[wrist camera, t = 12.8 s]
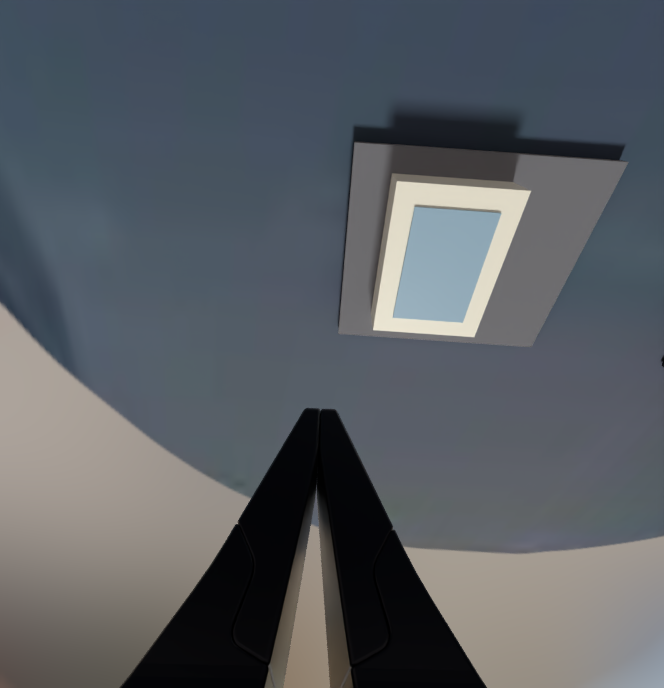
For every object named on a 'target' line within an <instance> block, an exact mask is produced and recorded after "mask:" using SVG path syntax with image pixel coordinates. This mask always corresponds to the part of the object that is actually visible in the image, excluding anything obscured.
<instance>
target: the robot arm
mask: <svg viewBox="0 0 664 688" xmlns="http://www.w3.org/2000/svg"><path fill="white" fill-rule="evenodd" d="M662 366H663V367H664V362H663V363H662ZM317 470H318V471H317ZM316 485H317V505H318V520H319V534H320V548H321V562H322V577H323V591H324V605H325V620H326V634H327V648H328V663H329V677H330V688H487V687H486V685H485V684H484V682H483V681H482V679H481V678H480V676H479V675H478V673H477V672H476V670H475V668H474V667H473V665H472V664H471V662H470V660H469V659H468V657H467V655H466V654H465V652H464V650H463V649H462V647H461V646H460V644H459V642H458V641H457V639H456V637H455V636H454V634H453V633H452V631H451V629H450V628H449V626H448V625H447V623H446V622H445V620H444V618H443V617H442V615H441V613H440V612H439V610H438V608H437V607H436V605H435V604H434V602H433V600H432V599H431V597H430V595H429V594H428V592H427V590H426V588H425V587H424V585H423V583H422V582H421V580H420V578H419V576H418V575H417V573H416V571H415V569H414V567H413V565H412V564H411V562H410V559H409V558H408V556H407V554H406V552H405V550H404V548H403V546H402V544H401V542H400V540H399V538H398V536H397V533H396V531H395V530H392V529H393V526H392V524H391V521H390V519H389V517H388V515H387V513H386V511H385V509H384V507H383V505H382V503H381V501H380V499H379V497H378V495H377V493H376V490H375V488H374V486H373V484H372V482H371V480H370V478H369V476H368V474H367V472H366V470H365V468H364V466H363V464H362V462H361V459H360V457H359V455H358V453H357V451H356V449H355V447H354V445H353V443H352V441H351V439H350V437H349V435H348V433H347V431H346V428H345V426H344V424H343V422H342V420H341V418H340V416H339V414H338V412H337V411H336V410H335V409H322V410H321V414H320V409H318V408H306V409H305V410H304V411H303V412H302V414H301V416H300V417H299V419H298V421H297V422H296V424H295V426H294V427H293V429H292V431H291V433H290V434H289V436H288V438H287V439H286V441H285V443H284V444H283V446H282V448H281V449H280V451H279V453H278V454H277V456H276V458H275V459H274V461H273V463H272V464H271V466H270V468H269V469H268V471H267V473H266V475H265V476H264V478H263V480H262V481H261V483H260V485H259V486H258V488H257V490H256V491H255V493H254V495H253V496H252V498H251V500H250V501H249V503H248V505H247V506H246V508H245V510H244V511H243V513H242V515H241V517H240V518H239V520H238V524H236V525H235V526H234V528H233V530H232V531H231V533H230V535H229V536H228V538H227V540H226V541H225V543H224V545H223V546H222V548H221V549H220V551H219V553H218V554H217V556H216V557H215V559H214V560H213V562H212V563H211V565H210V567H209V568H208V569H207V571H206V572H205V574H204V575H203V576H202V578H201V579H200V581H199V582H198V584H197V585H196V586H195V588H194V589H193V591H192V592H191V593H190V595H189V596H188V597H187V599H186V600H185V602H184V603H183V604H182V606H181V607H180V608H179V610H178V611H177V612H176V614H175V615H174V616H173V618H172V619H171V620H170V622H169V623H168V624H167V626H166V627H165V628H164V630H163V631H162V632H161V634H160V635H159V637H158V638H157V640H156V641H155V642H154V643H153V645H152V646H151V647H150V649H149V650H148V651H147V653H146V654H145V655H144V657H143V658H142V659H141V661H140V662H139V663H138V665H137V666H136V667H135V669H134V670H133V671H132V673H131V674H130V675H129V676H128V678H127V679H126V680H125V681H124V683H123V684H122V685H121V686H120V687H119V688H283V685H284V679H285V674H286V668H287V662H288V655H289V650H290V644H291V638H292V632H293V626H294V620H295V614H296V608H297V603H298V597H299V590H300V585H301V579H302V573H303V567H304V561H305V555H306V549H307V543H308V537H309V532H310V526H311V520H312V514H313V508H314V502H315V495H316Z"/></svg>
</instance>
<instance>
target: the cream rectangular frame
mask: <svg viewBox="0 0 664 688" xmlns="http://www.w3.org/2000/svg"><path fill="white" fill-rule="evenodd" d="M530 193H531V191H530V190H528V189H526V188H524V187H522V186H520V185H518V184H516V183H514V182H505V181H491V180H477V179H463V178H450V177H436V176H422V175H408V174H395V173H392V176H391V183H390V190H389V196H388V203H387V209H386V216H385V223H384V229H383V236H382V242H381V249H380V256H379V262H378V269H377V276H376V282H375V289H374V295H373V302H372V309H371V318H372V327H373V330H378V331H392V332H407V333H421V334H435V335H449V336H464V337H475V334H476V331H477V329H478V326H479V324H480V321H481V319H482V316H483V313H484V311H485V308H486V306H487V303H488V301H489V298H490V295H491V293H492V290H493V288H494V285H495V283H496V280H497V278H498V275H499V272H500V270H501V267H502V265H503V262H504V260H505V257H506V254H507V252H508V249H509V247H510V244H511V242H512V239H513V236H514V234H515V231H516V229H517V226H518V224H519V221H520V218H521V216H522V213H523V211H524V208H525V206H526V203H527V200H528V198H529V195H530Z"/></svg>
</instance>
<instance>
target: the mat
mask: <svg viewBox="0 0 664 688" xmlns="http://www.w3.org/2000/svg"><path fill="white" fill-rule="evenodd" d="M627 164H628V162H626V161H621V160H609V159H595V158H581V157H567V156H553V155H539V154H525V153H511V152H497V151H483V150H469V149H455V148H441V147H427V146H413V145H399V144H384V143H370V142H356V141H354V152H353V164H352V176H351V188H350V200H349V212H348V224H347V235H346V247H345V259H344V271H343V283H342V295H341V307H340V319H339V333H338V334H347V335H361V336H376V337H391V338H405V339H420V340H434V341H449V342H463V343H478V344H493V345H507V346H522V347H532V345H533V343H534V341H535V339H536V337H537V335H538V333H539V331H540V330H541V328H542V326H543V324H544V322H545V320H546V318H547V316H548V314H549V312H550V311H551V309H552V307H553V305H554V303H555V301H556V299H557V297H558V295H559V293H560V292H561V290H562V288H563V286H564V284H565V282H566V280H567V278H568V276H569V274H570V273H571V271H572V269H573V267H574V265H575V263H576V261H577V259H578V257H579V255H580V254H581V252H582V250H583V248H584V246H585V244H586V242H587V240H588V238H589V236H590V234H591V233H592V231H593V229H594V227H595V225H596V223H597V221H598V219H599V217H600V215H601V214H602V212H603V210H604V208H605V206H606V204H607V202H608V200H609V198H610V196H611V195H612V193H613V191H614V189H615V187H616V185H617V183H618V181H619V179H620V177H621V176H622V174H623V172H624V170H625V168H626V166H627ZM392 173H395V174H408V175H422V176H436V177H450V178H463V179H477V180H491V181H505V182H514V183H516V184H518V185H520V186H522V187H524V188H526V189H528V190H530V191H531V193H530V195H529V198H528V200H527V203H526V206H525V208H524V211H523V213H522V216H521V218H520V221H519V224H518V226H517V229H516V231H515V234H514V236H513V239H512V242H511V244H510V247H509V249H508V252H507V254H506V257H505V260H504V262H503V265H502V267H501V270H500V272H499V275H498V278H497V280H496V283H495V285H494V288H493V290H492V293H491V295H490V298H489V301H488V303H487V306H486V308H485V311H484V313H483V316H482V319H481V321H480V324H479V326H478V329H477V331H476V334H475V337H464V336H449V335H435V334H421V333H407V332H392V331H378V330H373V327H372V318H371V309H372V302H373V295H374V289H375V282H376V276H377V269H378V262H379V256H380V249H381V242H382V236H383V229H384V223H385V216H386V209H387V203H388V196H389V190H390V183H391V176H392Z"/></svg>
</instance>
